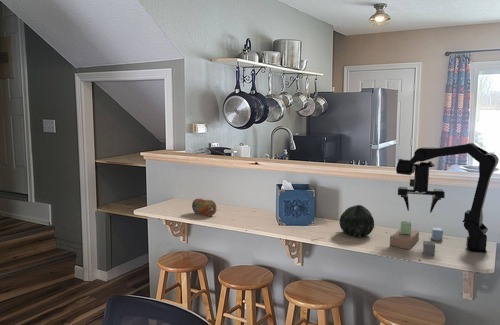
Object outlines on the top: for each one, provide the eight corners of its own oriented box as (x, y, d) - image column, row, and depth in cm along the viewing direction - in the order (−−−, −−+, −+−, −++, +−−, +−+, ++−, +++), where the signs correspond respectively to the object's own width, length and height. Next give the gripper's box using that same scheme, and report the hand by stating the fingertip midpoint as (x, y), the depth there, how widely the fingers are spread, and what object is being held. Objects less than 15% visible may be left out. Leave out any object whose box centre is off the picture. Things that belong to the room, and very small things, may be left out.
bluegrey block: (441, 237, 193) (442, 228, 192) (442, 240, 189) (443, 230, 189) (431, 237, 194) (432, 227, 194) (432, 239, 191) (433, 229, 190)
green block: (410, 231, 187) (410, 221, 187) (410, 234, 183) (411, 224, 183) (400, 230, 188) (400, 220, 188) (400, 233, 185) (401, 223, 184)
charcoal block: (433, 252, 175) (434, 241, 174) (434, 255, 171) (435, 244, 170) (422, 251, 176) (423, 240, 175) (423, 254, 172) (424, 243, 172)
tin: (191, 213, 233) (191, 197, 231) (195, 212, 235) (195, 196, 234) (213, 217, 224) (213, 201, 223) (217, 216, 227) (217, 200, 225)
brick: (399, 236, 196) (400, 226, 195) (419, 239, 191) (420, 229, 190) (388, 247, 182) (389, 236, 181) (409, 251, 177) (410, 239, 177)
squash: (348, 215, 209) (342, 196, 198) (379, 221, 201) (375, 202, 191) (339, 240, 201) (332, 222, 191) (371, 247, 194) (366, 228, 183)
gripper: (442, 174, 193) (440, 208, 195) (398, 172, 199) (396, 205, 201) (445, 179, 182) (443, 215, 185) (398, 176, 188) (396, 211, 190)
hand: (419, 211), depth 191 cm, fingers open, 9 cm apart
